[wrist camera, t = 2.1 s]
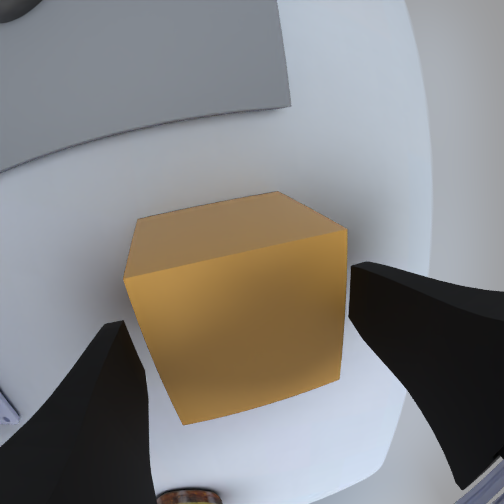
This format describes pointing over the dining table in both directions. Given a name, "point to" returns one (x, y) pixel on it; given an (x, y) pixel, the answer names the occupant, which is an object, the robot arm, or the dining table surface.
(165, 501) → the sauce bottle
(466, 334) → the robot arm
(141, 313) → the orange cube
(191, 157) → the dining table surface
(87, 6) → the post board
